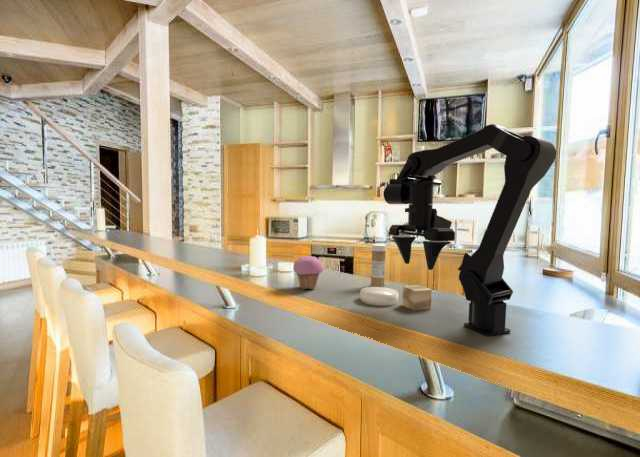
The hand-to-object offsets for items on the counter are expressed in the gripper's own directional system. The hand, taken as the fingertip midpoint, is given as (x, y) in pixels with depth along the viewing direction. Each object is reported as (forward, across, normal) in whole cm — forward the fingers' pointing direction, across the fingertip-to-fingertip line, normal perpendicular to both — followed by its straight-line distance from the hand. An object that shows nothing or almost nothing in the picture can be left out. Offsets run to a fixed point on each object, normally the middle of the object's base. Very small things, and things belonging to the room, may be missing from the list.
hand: (418, 266), depth 85 cm
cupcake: (+10, +26, +20) cm, 35 cm away
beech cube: (+10, 0, 0) cm, 11 cm away
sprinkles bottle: (+10, +22, -2) cm, 24 cm away
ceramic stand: (+10, +8, +6) cm, 14 cm away
